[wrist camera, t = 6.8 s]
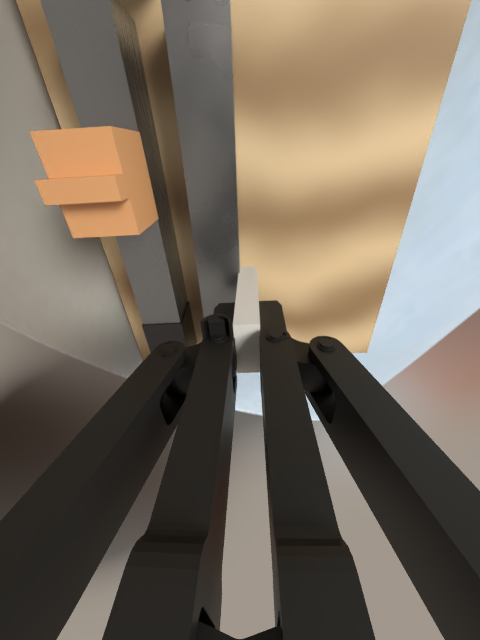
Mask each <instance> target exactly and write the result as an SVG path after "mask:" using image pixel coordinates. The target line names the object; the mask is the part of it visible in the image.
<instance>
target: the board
mask: <svg viewBox="0 0 480 640" xmlns="http://www.w3.org/2000/svg"><path fill="white" fill-rule="evenodd" d="M118 1H119V2H120V3H121V5H122V6H123V7H124V8H125V10H126V11H127V12H128V13H129V15H130V16H131V17H132V18H133V20H134V21H135V24H136V29H137V34H138V40H139V45H140V50H141V55H142V61H143V66H144V71H145V76H146V82H147V87H148V92H149V98H150V103H151V108H152V113H153V119H154V124H155V129H156V135H157V140H158V145H159V150H160V156H161V161H162V166H163V172H164V177H165V182H166V187H167V193H168V198H169V203H170V209H171V214H172V219H173V224H174V230H175V235H176V240H177V246H178V251H179V256H180V261H181V267H182V272H183V277H184V282H185V288H186V293H187V298H188V301H189V302H190V307H191V313H192V318H193V324H194V329H195V334H196V340H197V344H199V343H201V342H202V340H203V337H202V331H201V325H200V322H201V321H202V319H204V316H203V309H202V301H201V294H200V287H199V279H198V272H197V264H196V257H195V250H194V242H193V235H192V228H191V220H190V213H189V205H188V198H187V191H186V183H185V176H184V168H183V161H182V154H181V146H180V139H179V131H178V124H177V117H176V109H175V102H174V94H173V87H172V80H171V72H170V65H169V57H168V50H167V43H166V35H165V28H164V20H163V13H162V6H161V0H118ZM16 2H17V5H18V8H19V11H20V14H21V16H22V19H23V22H24V25H25V28H26V31H27V33H28V36H29V39H30V42H31V45H32V47H33V50H34V53H35V56H36V59H37V62H38V64H39V67H40V70H41V73H42V76H43V79H44V81H45V84H46V87H47V90H48V93H49V96H50V98H51V101H52V104H53V107H54V110H55V112H56V115H57V118H58V121H59V124H60V127H61V129H72V128H81V127H80V124H79V121H78V117H77V114H76V111H75V108H74V105H73V102H72V99H71V96H70V92H69V89H68V86H67V83H66V80H65V77H64V74H63V70H62V67H61V64H60V61H59V58H58V55H57V52H56V49H55V45H54V42H53V39H52V36H51V33H50V30H49V27H48V23H47V20H46V17H45V14H44V11H43V8H42V5H41V2H40V0H16ZM230 3H231V23H232V51H233V79H234V108H235V136H236V164H237V192H238V221H239V249H240V267H250V266H257V278H258V296H259V301H272V300H277V301H278V302H279V303H280V304H281V305H282V309H283V314H284V319H285V324H286V329H287V332H289V334H290V336H291V337H292V338H293V339H295V340H297V341H301V342H305V343H310V340H312V339H313V338H314V337H317V336H330V337H333V338H336V339H338V340H339V341H340V342H341V343H342V344H343V345H344V346H345V347H346V348H347V349H348V350H349V351H350V352H351V353H367V351H368V347H369V344H370V341H371V337H372V334H373V330H374V327H375V324H376V320H377V317H378V314H379V310H380V307H381V303H382V300H383V297H384V293H385V290H386V287H387V283H388V280H389V276H390V273H391V270H392V266H393V263H394V260H395V256H396V253H397V249H398V246H399V243H400V239H401V236H402V233H403V229H404V226H405V222H406V219H407V216H408V212H409V209H410V206H411V202H412V199H413V195H414V192H415V189H416V185H417V182H418V179H419V175H420V172H421V168H422V165H423V162H424V158H425V155H426V152H427V148H428V145H429V141H430V138H431V135H432V131H433V128H434V125H435V121H436V118H437V114H438V111H439V108H440V104H441V101H442V98H443V94H444V91H445V88H446V84H447V81H448V77H449V74H450V71H451V67H452V64H453V61H454V57H455V54H456V50H457V47H458V44H459V40H460V37H461V34H462V30H463V27H464V23H465V20H466V17H467V13H468V10H469V7H470V3H471V0H230ZM100 240H101V242H102V245H103V248H104V251H105V254H106V257H107V259H108V262H109V265H110V268H111V271H112V274H113V276H114V279H115V282H116V285H117V288H118V291H119V293H120V296H121V299H122V302H123V305H124V307H125V310H126V313H127V316H128V319H129V322H130V324H131V327H132V330H133V333H134V336H135V339H136V341H137V344H138V347H139V350H140V353H141V356H142V358H143V361H144V360H145V359H146V358H147V356H148V355H149V354H150V350H149V347H148V343H147V340H146V337H145V334H144V331H143V328H142V324H143V321H142V318H141V315H140V312H139V309H138V305H137V302H136V299H135V296H134V293H133V290H132V287H131V283H130V280H129V277H128V274H127V271H126V268H125V265H124V262H123V258H122V255H121V252H120V249H119V246H118V243H117V240H116V237H115V236H106V237H100Z"/></svg>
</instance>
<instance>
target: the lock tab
mask: <svg viewBox="0 0 480 640" xmlns="http://www.w3.org/2000/svg"><path fill="white" fill-rule="evenodd" d="M29 132H30V134H31V137H32V139H33V141H34V144H35V146H36V149H37V151H38V154H39V156H40V158H41V161H42V163H43V166H44V168H45V171H46V173H47V175H48V178H47V179H40V180H34V181H35V184H36V186H37V188H38V190H39V193H40V195H41V197H42V199H43V202H44V204H45V205H60V207H61V209H62V212H63V214H64V217H65V219H66V222H67V224H68V226H69V229H70V231H71V234H72V236H73V238H88V237H106V236H125V235H140V234H141V233H142V232H143V231H144V230H146V229H147V228H148V227H149V226H151V225H152V224H153V223H154V222H155V221H157V220H158V219H159V218H158V214H157V209H156V205H155V200H154V196H153V191H152V186H151V182H150V177H149V173H148V168H147V163H146V159H145V154H144V150H143V145H142V140H141V136H140V132H138V131H133V130H128V129H123V128H118V127H113V126H102V127H87V128H72V129H57V130H42V131H29Z"/></svg>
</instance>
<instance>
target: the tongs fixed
mask: <svg viewBox="0 0 480 640" xmlns="http://www.w3.org/2000/svg"><path fill="white" fill-rule="evenodd" d="M40 2H41V5H42V8H43V11H44V14H45V17H46V20H47V23H48V27H49V30H50V33H51V36H52V39H53V42H54V45H55V49H56V52H57V55H58V58H59V61H60V64H61V67H62V70H63V74H64V77H65V80H66V83H67V86H68V89H69V92H70V96H71V99H72V102H73V105H74V108H75V111H76V114H77V117H78V121H79V124H80V127H81V128H87V127H102V126H113V127H118V128H123V129H128V130H133V131H138V132H140V136H141V140H142V145H143V150H144V154H145V159H146V163H147V168H148V173H149V177H150V182H151V186H152V191H153V196H154V200H155V205H156V209H157V214H158V218H159V219H158V220H157V221H155V222H154V223H153V224H152V225H151V226H149V227H148V228H147V229H146V230H144V231H143V232H142V233H141V234H140V235H125V236H115V237H116V240H117V243H118V246H119V249H120V252H121V255H122V258H123V262H124V265H125V268H126V271H127V274H128V277H129V280H130V283H131V287H132V290H133V293H134V296H135V299H136V302H137V305H138V309H139V312H140V315H141V318H142V321H143V324H142V328H143V331H144V334H145V337H146V340H147V343H148V347H149V350H150V353H151V352H152V351H153V350H154V349H155V348H156V347H157V346H158V345H159V344H161V343H164V342H167V341H179V342H182V343H183V344H184V346H185V347H189V346H193V345H196V344H197V340H196V334H195V329H194V324H193V318H192V313H191V307H190V302H189V301H188V298H187V293H186V288H185V282H184V277H183V272H182V267H181V261H180V256H179V251H178V246H177V240H176V235H175V230H174V224H173V219H172V214H171V209H170V203H169V198H168V193H167V187H166V182H165V177H164V172H163V166H162V161H161V156H160V150H159V145H158V140H157V135H156V129H155V124H154V119H153V113H152V108H151V103H150V98H149V92H148V87H147V82H146V76H145V71H144V66H143V61H142V55H141V50H140V45H139V40H138V34H137V29H136V24H135V21H134V20H133V18H132V17H131V16H130V15H129V13H128V12H127V11H126V10H125V8H124V7H123V6H122V5H121V3H120V2H119V1H118V0H40Z"/></svg>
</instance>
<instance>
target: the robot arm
mask: <svg viewBox="0 0 480 640" xmlns="http://www.w3.org/2000/svg"><path fill="white" fill-rule="evenodd" d="M200 325H201V331H202V337H203V340H202V342H201V343H199V344H196V345H193V346H189V347H185V346H184V344H183V343H182V342H179V341H167V342H164V343H161V344H159V345H158V346H157V347H156V348H155V349H154V350H153V351H152V352H151V353H150V354H149V355H148V356H147V358H146V359H145V360H144V361H143V362H142V363H141V364H140V365H139V367H138V368H137V369H136V370H135V371H134V372H133V373H132V374H131V376H130V377H129V378H128V379H127V380H126V381H125V382H124V383H123V385H122V386H121V387H120V388H119V389H118V390H117V391H116V392H115V393H114V395H113V396H112V397H111V398H110V399H109V400H108V401H107V402H106V404H105V405H104V406H103V407H102V408H101V409H100V410H99V412H98V413H97V414H96V415H95V416H94V417H93V418H92V419H91V420H90V421H89V423H88V424H87V425H86V426H85V427H84V428H83V429H82V430H81V432H80V433H79V434H78V435H77V436H76V437H75V438H74V439H73V440H72V442H71V443H70V444H69V445H68V446H67V447H66V448H65V450H64V451H63V452H62V453H61V454H60V455H59V456H58V457H57V459H55V461H54V462H53V463H52V464H51V465H50V466H49V467H48V468H47V470H46V471H45V472H44V473H43V474H42V475H41V477H39V479H38V480H37V481H36V482H35V483H34V484H33V485H32V486H31V487H30V489H29V490H28V491H27V492H26V493H25V494H24V495H23V496H22V498H21V499H20V500H19V501H18V502H17V503H16V504H15V505H14V506H13V508H12V509H11V510H10V511H9V512H8V513H7V514H6V516H5V517H4V518H3V519H2V520H1V521H0V640H56V639H57V637H58V636H59V634H60V632H61V631H62V629H63V627H64V626H65V624H66V622H67V621H68V619H69V617H70V616H71V614H72V612H73V610H74V608H75V607H76V605H77V603H78V601H79V600H80V598H81V596H82V594H83V592H84V590H85V589H86V587H87V585H88V583H89V582H90V580H91V578H92V576H93V575H94V573H95V571H96V569H97V567H98V566H99V564H100V562H101V560H102V558H103V557H104V555H105V553H106V551H107V550H108V548H109V546H110V544H111V542H112V541H113V539H114V537H115V535H116V533H117V532H118V530H119V528H120V526H121V525H122V523H123V521H124V519H125V517H126V516H127V514H128V512H129V510H130V508H131V507H132V505H133V503H134V501H135V500H136V498H137V496H138V494H139V492H140V491H141V489H142V487H143V485H144V484H145V482H146V480H147V478H148V476H149V475H150V473H151V471H152V469H153V467H154V466H155V464H156V462H157V460H158V459H159V457H160V455H161V453H162V451H163V450H164V448H165V446H166V444H167V442H168V441H169V439H170V437H171V435H172V434H173V431H174V430H175V428H176V426H177V425H178V426H177V429H176V433H175V437H174V440H173V443H172V447H171V450H170V454H169V457H168V461H167V464H166V467H165V471H164V475H163V478H162V481H161V485H160V488H159V492H158V495H157V499H156V502H155V506H154V509H153V512H152V516H151V520H150V523H149V526H148V529H147V530H146V532H145V534H144V535H143V536H142V537H141V538H140V539H139V540H138V541H137V542H136V543H135V545H134V547H133V549H132V551H131V553H130V555H129V558H128V561H127V563H126V566H125V569H124V572H123V575H122V579H121V582H120V585H119V588H118V591H117V595H116V597H115V601H114V604H113V607H112V610H111V613H110V616H109V620H108V623H107V626H106V629H105V632H104V635H103V639H102V640H375V636H374V633H373V629H372V625H371V621H370V618H369V614H368V610H367V607H366V603H365V599H364V595H363V592H362V588H361V584H360V580H359V576H358V573H357V569H356V566H355V563H354V560H353V557H352V554H351V552H350V550H349V547H348V546H347V544H346V543H345V542H344V540H343V539H342V537H341V535H340V532H339V528H338V525H337V521H336V517H335V513H334V509H333V505H332V501H331V497H330V493H329V489H328V485H327V481H326V476H325V473H324V469H323V465H322V461H321V456H320V452H319V448H318V445H317V440H316V437H315V432H314V428H313V424H312V420H311V416H310V412H309V408H308V404H307V400H306V396H307V398H308V400H309V401H310V403H311V405H312V407H313V408H314V410H315V412H316V414H317V415H318V417H319V419H320V421H321V422H322V424H323V426H324V428H325V429H326V431H327V433H328V435H329V437H330V438H331V440H332V441H333V444H334V445H335V447H336V449H337V450H338V452H339V454H340V456H341V457H342V459H343V461H344V463H345V465H346V466H347V468H348V470H349V472H350V473H351V475H352V477H353V479H354V480H355V482H356V484H357V486H358V488H359V489H360V491H361V493H362V495H363V496H364V498H365V500H366V501H367V503H368V505H369V507H370V509H371V511H372V512H373V514H374V516H375V518H376V519H377V521H378V523H379V525H380V526H381V528H382V530H383V532H384V533H385V535H386V537H387V539H388V540H389V542H390V544H391V546H392V548H393V549H394V551H395V552H396V554H397V556H398V558H399V560H400V562H401V563H402V565H403V567H404V569H405V570H406V572H407V574H408V576H409V577H410V579H411V581H412V583H413V584H414V586H415V588H416V590H417V591H418V593H419V595H420V597H421V599H422V600H423V602H424V604H425V606H426V607H427V609H428V611H429V613H430V614H431V616H432V618H433V620H434V621H435V623H436V625H437V627H438V628H439V630H440V632H441V634H442V636H443V637H444V639H445V640H480V491H479V490H478V489H477V488H476V487H475V486H474V484H473V483H472V482H471V481H470V480H469V479H468V478H467V477H466V476H465V475H464V474H463V473H462V471H461V470H460V469H459V468H458V467H457V466H456V465H455V464H454V463H453V462H452V461H451V460H450V459H449V458H448V456H447V455H446V454H445V453H444V452H443V451H442V450H441V449H440V448H439V447H438V446H437V445H436V444H435V443H434V441H432V439H431V438H430V437H429V436H428V435H427V434H426V433H425V432H424V431H423V430H422V429H421V428H420V426H419V425H418V424H417V423H416V422H415V421H414V420H413V419H412V418H411V417H410V416H409V415H408V413H407V412H406V411H405V410H404V409H403V408H402V407H401V406H400V405H399V404H398V403H397V402H396V401H395V399H394V398H393V397H392V396H391V395H390V394H389V393H388V392H387V391H386V390H385V389H384V388H383V387H382V385H381V384H380V383H379V382H378V381H377V380H376V379H375V378H374V377H373V376H372V375H371V374H370V373H369V372H368V370H367V369H366V368H365V367H364V366H363V365H362V364H361V363H360V362H359V361H358V360H357V359H356V358H355V356H354V355H353V354H352V353H351V352H350V351H349V350H348V349H347V348H346V347H345V346H344V345H343V344H342V343H341V342H340V341H339V340H338V339H336V338H333V337H330V336H317V337H314V338H313V339H312V340H310V343H305V342H301V341H297V340H295V339H293V338H292V337H291V336H290V334H289V332H287V329H286V324H285V319H284V314H283V309H282V305H281V304H280V303H279V302H278V301H277V300H272V301H259V296H258V278H257V266H250V267H240V273H238V282H237V291H236V300H235V303H219V304H218V305H217V306H216V307H215V308H214V312H213V315H209V316H207V317H205V318H204V319H202V321H201V322H200ZM236 372H237V373H250V372H260V379H261V396H262V412H263V427H264V442H265V459H266V474H267V490H268V505H269V521H270V535H271V536H270V537H271V553H272V569H273V589H274V609H275V626H276V627H274V628H271V629H269V630H266V631H263V632H261V633H258V634H256V635H253V636H250V637H248V638H245V639H235V638H233V637H231V636H229V635H227V634H225V633H223V632H221V631H220V618H221V617H220V616H221V601H222V579H221V578H222V560H223V547H224V535H225V523H226V511H227V499H228V487H229V474H230V462H231V450H232V438H233V437H232V436H233V425H234V412H235V401H236V389H237V375H236ZM304 391H305V392H304ZM305 394H306V396H305Z"/></svg>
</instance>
